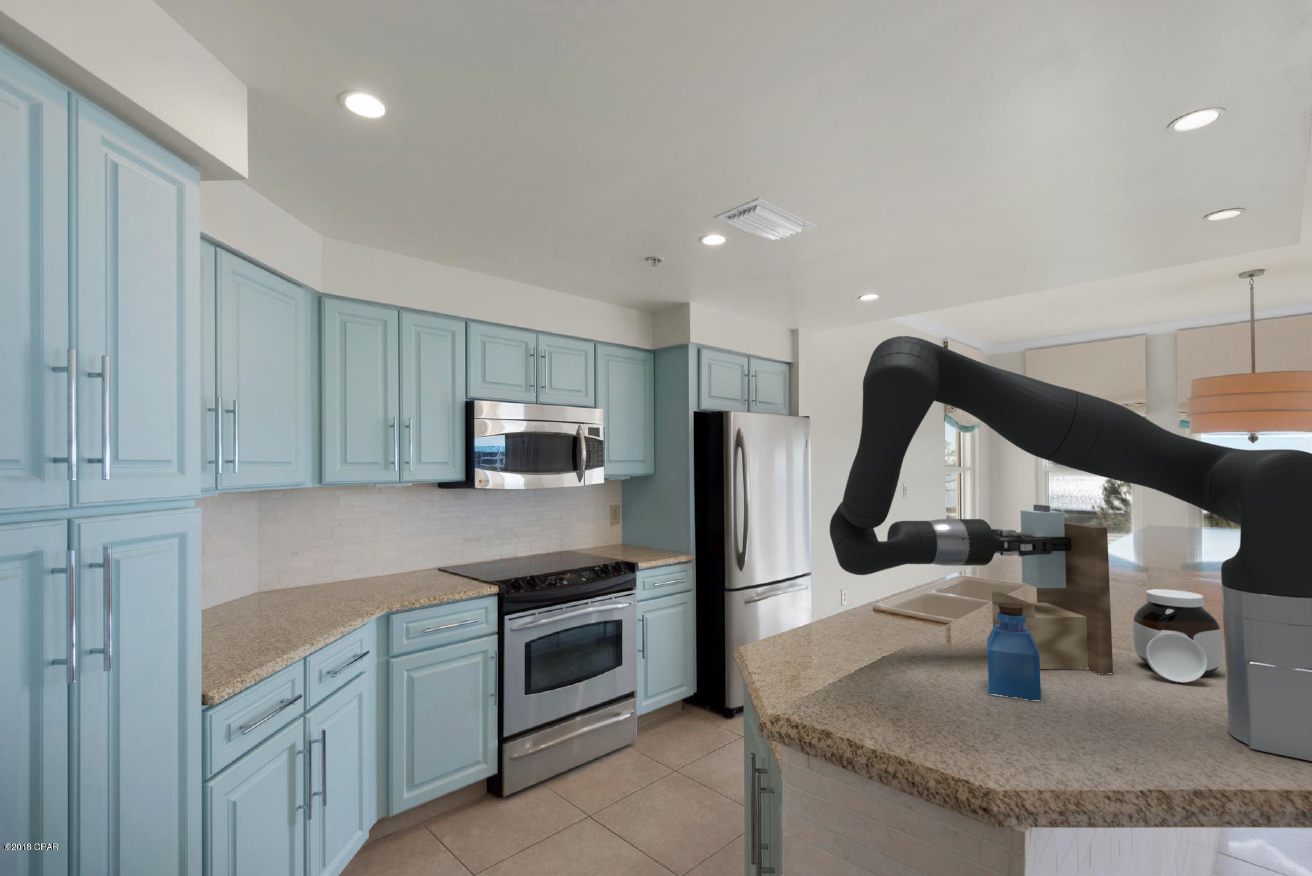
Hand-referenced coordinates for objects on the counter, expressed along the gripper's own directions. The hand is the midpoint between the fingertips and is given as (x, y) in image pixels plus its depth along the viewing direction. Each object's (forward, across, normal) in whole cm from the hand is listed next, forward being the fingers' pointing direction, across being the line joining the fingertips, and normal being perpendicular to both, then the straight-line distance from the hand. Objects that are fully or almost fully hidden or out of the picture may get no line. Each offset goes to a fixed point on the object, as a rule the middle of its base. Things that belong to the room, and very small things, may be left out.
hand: (1058, 541), depth 103 cm
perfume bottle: (-16, -14, +19) cm, 28 cm away
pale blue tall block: (-3, 0, +7) cm, 8 cm away
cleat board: (-2, 0, +19) cm, 19 cm away
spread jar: (+13, -8, +19) cm, 24 cm away
